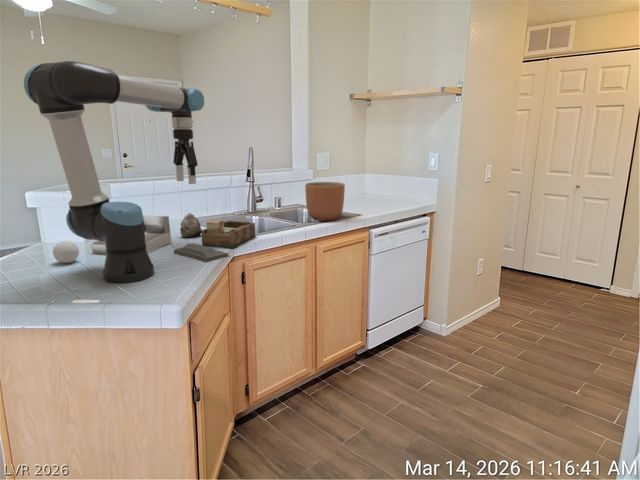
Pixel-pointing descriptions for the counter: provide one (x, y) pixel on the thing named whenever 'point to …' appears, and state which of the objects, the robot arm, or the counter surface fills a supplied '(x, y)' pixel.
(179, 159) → the robot arm
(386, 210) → the counter surface
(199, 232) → the rock
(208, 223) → the block
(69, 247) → the ball
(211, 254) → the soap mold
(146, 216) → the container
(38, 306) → the counter surface
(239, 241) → the trap box
